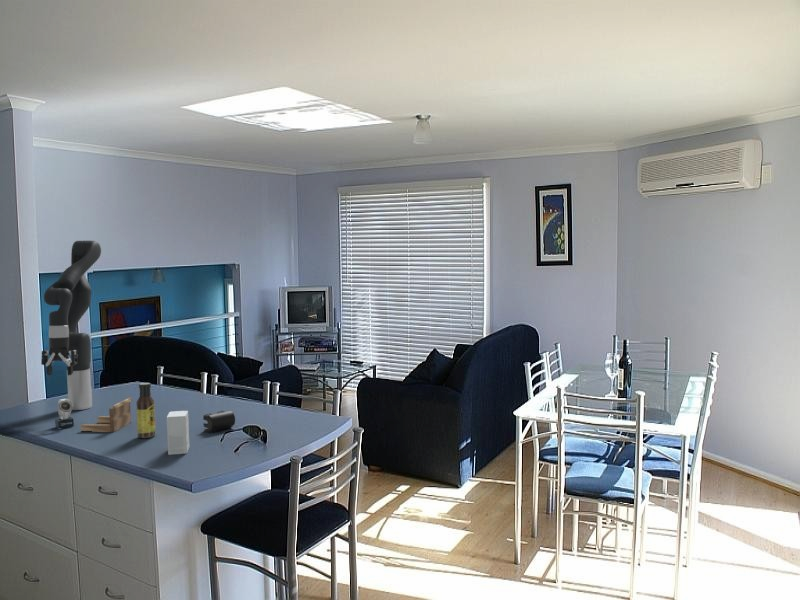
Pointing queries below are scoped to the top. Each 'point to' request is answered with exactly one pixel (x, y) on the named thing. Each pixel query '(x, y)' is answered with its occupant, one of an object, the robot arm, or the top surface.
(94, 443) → the top surface
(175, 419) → the small box
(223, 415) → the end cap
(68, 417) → the watch
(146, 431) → the sauce bottle
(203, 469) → the top surface
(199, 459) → the top surface
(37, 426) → the top surface
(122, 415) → the display stand
